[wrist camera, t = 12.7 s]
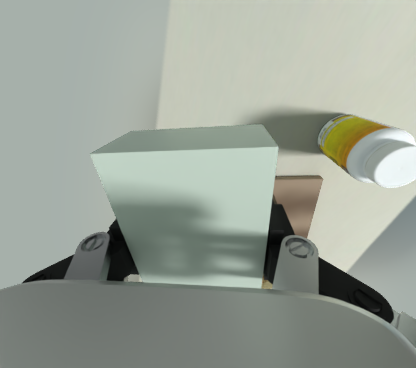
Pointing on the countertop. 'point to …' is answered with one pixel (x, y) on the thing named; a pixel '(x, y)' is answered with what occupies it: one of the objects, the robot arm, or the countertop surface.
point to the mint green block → (193, 201)
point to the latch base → (298, 199)
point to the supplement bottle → (370, 150)
